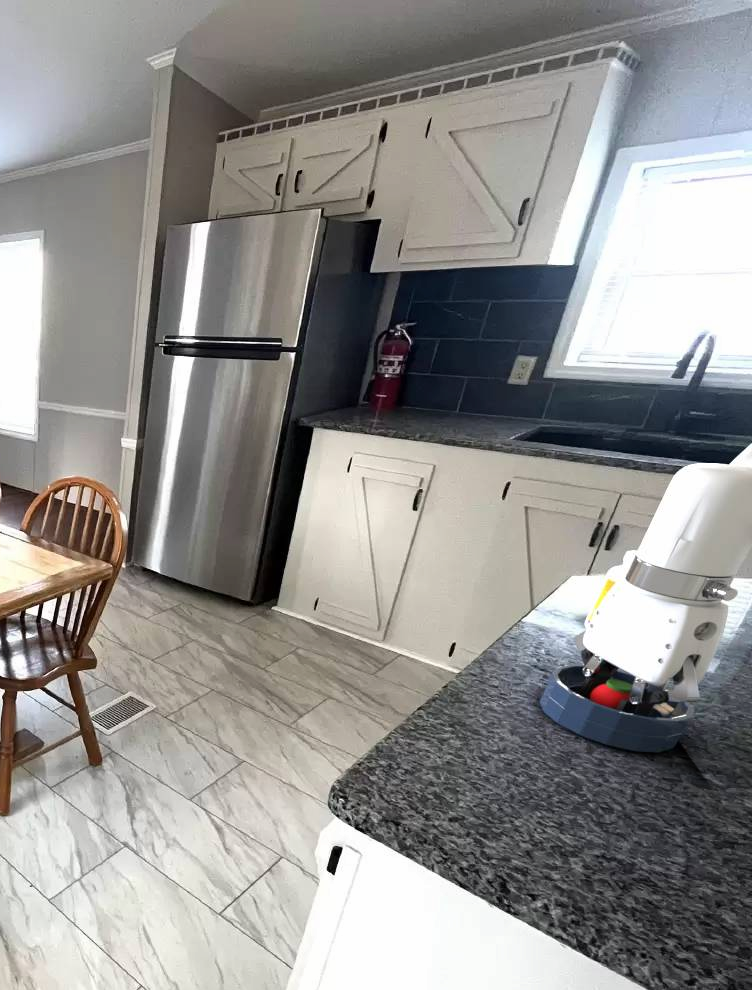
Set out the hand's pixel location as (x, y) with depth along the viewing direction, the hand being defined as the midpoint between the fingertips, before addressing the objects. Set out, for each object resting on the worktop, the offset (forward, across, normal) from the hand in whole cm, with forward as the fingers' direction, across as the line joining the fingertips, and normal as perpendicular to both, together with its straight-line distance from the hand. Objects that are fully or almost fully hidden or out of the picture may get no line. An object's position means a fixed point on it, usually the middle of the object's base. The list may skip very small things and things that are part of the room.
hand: (605, 715), depth 77 cm
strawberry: (0, 0, 0) cm, 0 cm away
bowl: (+1, 0, 0) cm, 1 cm away
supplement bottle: (+1, +23, -23) cm, 32 cm away
